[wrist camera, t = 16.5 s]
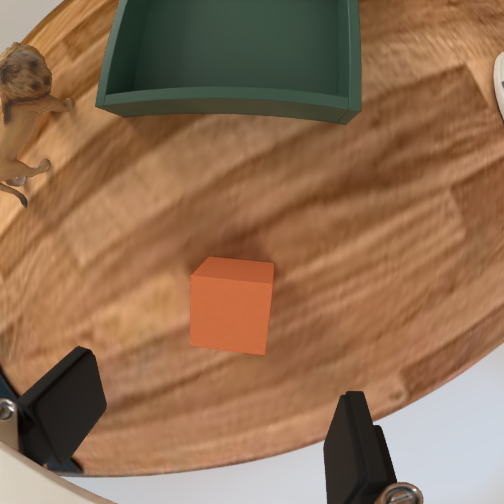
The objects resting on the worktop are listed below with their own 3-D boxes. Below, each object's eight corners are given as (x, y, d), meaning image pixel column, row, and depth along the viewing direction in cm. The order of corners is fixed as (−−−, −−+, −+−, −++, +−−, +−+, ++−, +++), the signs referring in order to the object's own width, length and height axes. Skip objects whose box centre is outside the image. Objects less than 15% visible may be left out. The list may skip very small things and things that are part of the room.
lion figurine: (55, 63, 20) (-5, 39, 11) (91, 66, 20) (28, 34, 11) (16, 200, 24) (-49, 211, 15) (46, 215, 24) (-24, 231, 15)
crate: (342, -38, 16) (350, -64, 12) (346, 124, 20) (361, 111, 16) (158, -36, 17) (142, -59, 13) (122, 117, 21) (94, 106, 17)
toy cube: (274, 262, 23) (273, 283, 18) (268, 322, 24) (265, 355, 19) (208, 256, 23) (190, 275, 18) (206, 315, 24) (190, 345, 19)
